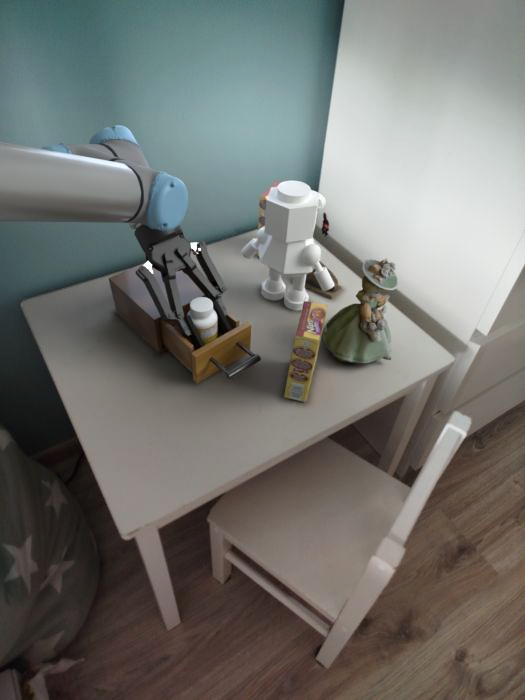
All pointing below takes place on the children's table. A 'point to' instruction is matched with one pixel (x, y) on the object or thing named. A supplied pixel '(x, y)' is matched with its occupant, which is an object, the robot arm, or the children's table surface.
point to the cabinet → (147, 302)
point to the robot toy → (290, 243)
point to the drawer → (211, 349)
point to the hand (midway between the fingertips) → (215, 342)
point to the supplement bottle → (204, 319)
